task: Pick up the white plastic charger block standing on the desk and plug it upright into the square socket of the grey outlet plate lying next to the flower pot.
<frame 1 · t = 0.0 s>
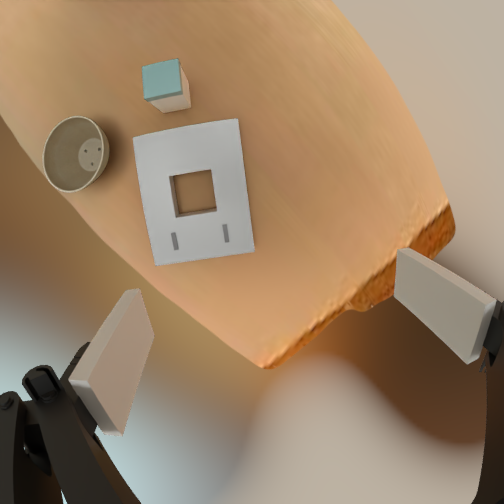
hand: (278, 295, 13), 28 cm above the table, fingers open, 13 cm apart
flower pot: (94, 154, 36), on the table
charger: (175, 97, 34), on the table
outlet plate: (195, 191, 39), on the table
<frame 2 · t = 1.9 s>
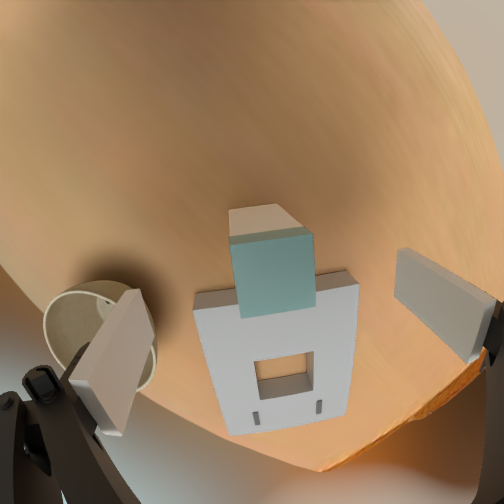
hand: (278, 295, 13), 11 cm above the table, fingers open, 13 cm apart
flower pot: (121, 304, 25), on the table
charger: (255, 229, 24), on the table
outlet plate: (280, 358, 28), on the table
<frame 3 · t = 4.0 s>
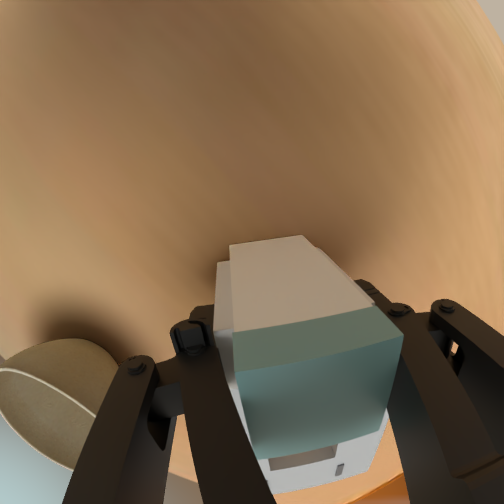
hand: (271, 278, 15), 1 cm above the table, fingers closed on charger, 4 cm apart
flower pot: (90, 363, 17), on the table
charger: (269, 273, 16), on the table, touching gripper
outlet plate: (296, 423, 20), on the table
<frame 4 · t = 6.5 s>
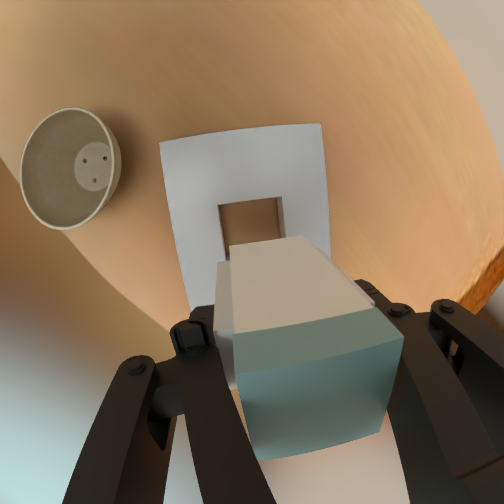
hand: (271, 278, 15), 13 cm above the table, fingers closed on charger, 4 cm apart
flower pot: (97, 165, 25), on the table
charger: (270, 274, 16), point 13 cm above the table, touching gripper
outlet plate: (250, 224, 28), on the table
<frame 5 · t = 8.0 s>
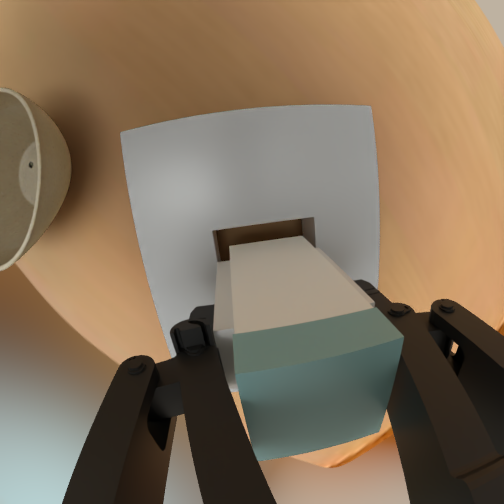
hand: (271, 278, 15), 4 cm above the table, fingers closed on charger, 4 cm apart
flower pot: (46, 170, 16), on the table
charger: (270, 274, 16), point 3 cm above the table, touching gripper
outlet plate: (262, 255, 19), on the table
when the fingers open (3 cm above the table, at t = 9.0 s): charger drops 3 cm, resting in outlet plate.
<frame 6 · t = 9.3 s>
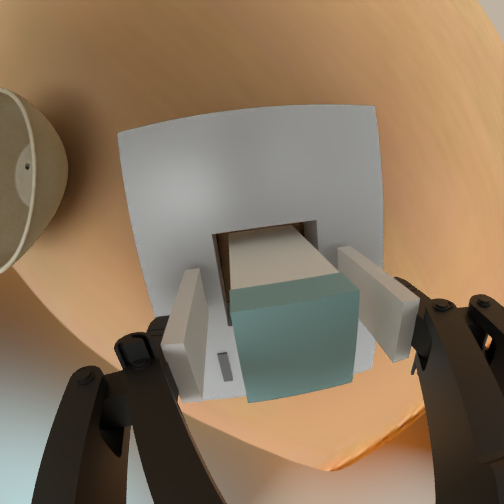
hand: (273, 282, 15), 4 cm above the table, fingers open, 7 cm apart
flower pot: (43, 172, 15), on the table
charger: (263, 258, 19), resting in outlet plate
outlet plate: (263, 258, 19), on the table
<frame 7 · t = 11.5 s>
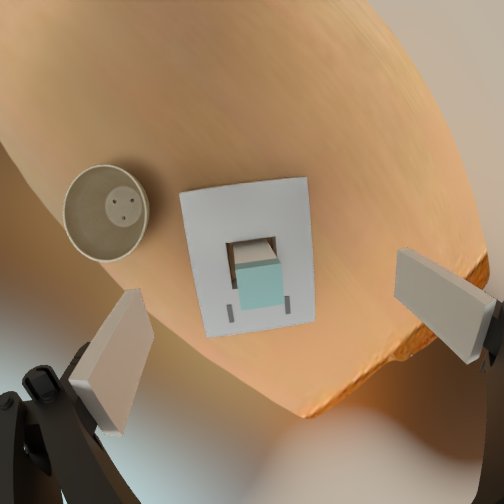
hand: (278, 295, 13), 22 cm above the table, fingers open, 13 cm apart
flower pot: (125, 205, 32), on the table
charger: (251, 255, 35), resting in outlet plate
outlet plate: (251, 255, 35), on the table
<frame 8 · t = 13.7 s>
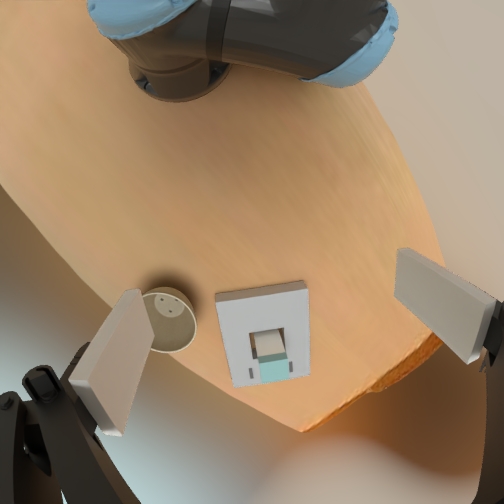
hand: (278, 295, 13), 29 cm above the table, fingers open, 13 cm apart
flower pot: (170, 301, 44), on the table
charger: (265, 334, 48), resting in outlet plate
outlet plate: (265, 334, 47), on the table
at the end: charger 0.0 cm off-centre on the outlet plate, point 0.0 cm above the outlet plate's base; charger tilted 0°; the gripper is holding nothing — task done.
